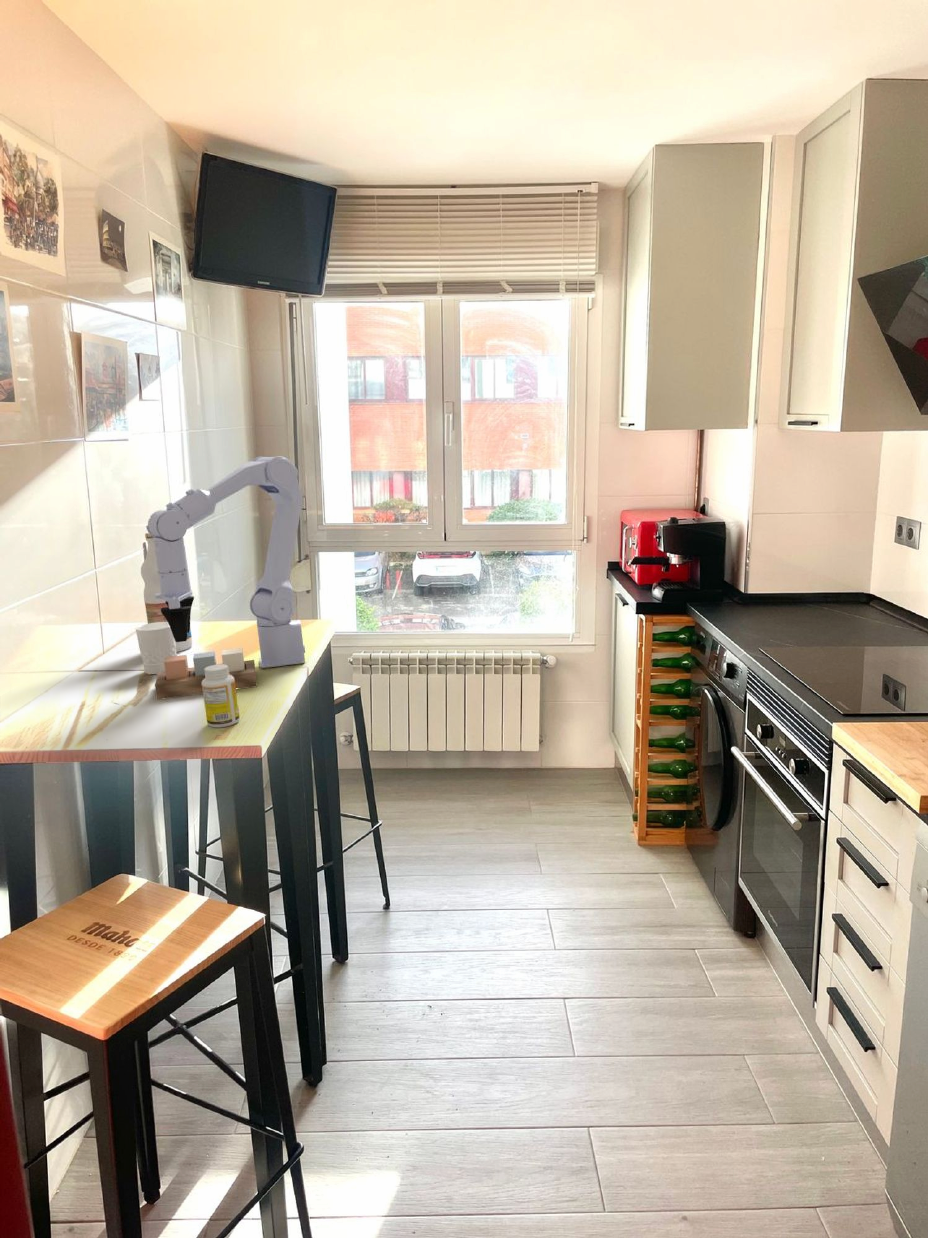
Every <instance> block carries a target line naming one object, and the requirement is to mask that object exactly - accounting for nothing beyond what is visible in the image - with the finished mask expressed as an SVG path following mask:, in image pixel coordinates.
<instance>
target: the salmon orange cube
mask: <svg viewBox="0 0 928 1238" xmlns="http://www.w3.org/2000/svg"><path fill="white" fill-rule="evenodd" d="M164 665H165V671H166V678H167V680H169V679H177V678H185V677H189V670H188V668H189V665H188V657H187V654H183V655H177V656H173V657H166V658H165V661H164Z"/></svg>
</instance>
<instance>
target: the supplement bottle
mask: <svg viewBox="0 0 928 1238" xmlns="http://www.w3.org/2000/svg"><path fill="white" fill-rule="evenodd" d="M204 670H205V677H206V678H205V679H203V681H202V690H203V694H202V695H203V702H204V710H205V716H206V722H207V725H208V726H209V727H211V728H225V727H230V726H233V725H236V724H237V723H238V722H239V721H240V711H239V704H238V696H237V689H236V688H235V680H234V677H233V676H232V675H229V670H228V666H227V665H224V664H223V663H219V664H218V665H217V664H216V665H211V666H208V667H206V668H205V669H204Z"/></svg>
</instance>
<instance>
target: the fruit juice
mask: <svg viewBox="0 0 928 1238" xmlns="http://www.w3.org/2000/svg"><path fill="white" fill-rule="evenodd" d="M144 536H145V541H146V542H147V553H146V557H145V559H144V561H143V562H142V564H141V567H140V575H141V578H142V579H143V582H144V588H143V600H144V608H145V613H146V620H147V624H149V623H156V622H167V620H166V618H165V617H164V616H163V614H162V613H161V608H164V607H168V606H167V604H166V603H165V602H166V601H165V600H163V599H161V598H159V599H156V597H155V595H156V594H160V593H161V588H160V582H159V575H158V568H157V562H156V555H155V546H154V540H153V537H152V536H151V535H150V534H149V533H148V532H146V533H145V534H144ZM192 646H193V638H192V630H191V628H190V631H189V633H187V641H183V642H176V653H179V652H181V651H187V650H189V649H191V648H192Z"/></svg>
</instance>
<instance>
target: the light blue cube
mask: <svg viewBox="0 0 928 1238" xmlns="http://www.w3.org/2000/svg"><path fill="white" fill-rule="evenodd" d="M192 661H193V667H194V669H195V676H201V675H205V670H204V669H205V668H206V667H208V666H211V665H217V661H216V653H215V651H205V652H199V653H193V658H192Z"/></svg>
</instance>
